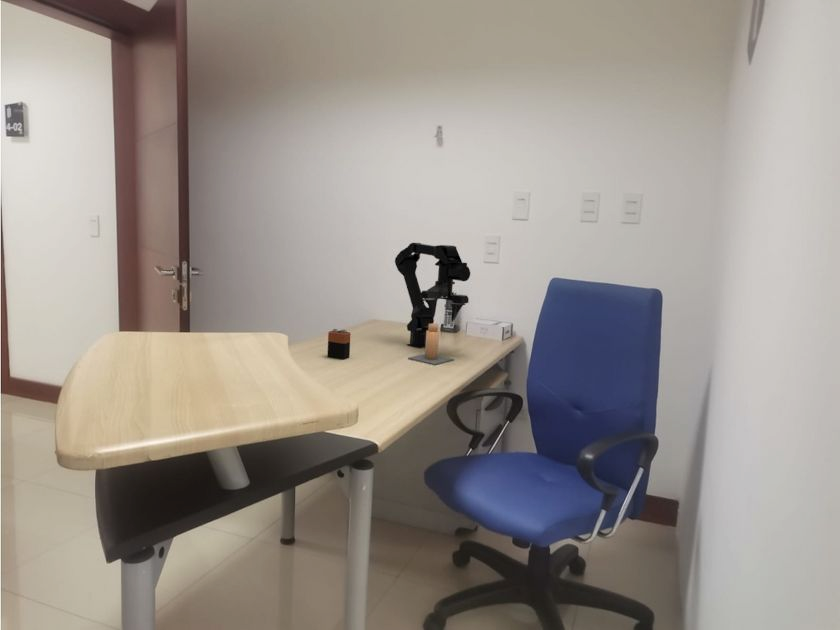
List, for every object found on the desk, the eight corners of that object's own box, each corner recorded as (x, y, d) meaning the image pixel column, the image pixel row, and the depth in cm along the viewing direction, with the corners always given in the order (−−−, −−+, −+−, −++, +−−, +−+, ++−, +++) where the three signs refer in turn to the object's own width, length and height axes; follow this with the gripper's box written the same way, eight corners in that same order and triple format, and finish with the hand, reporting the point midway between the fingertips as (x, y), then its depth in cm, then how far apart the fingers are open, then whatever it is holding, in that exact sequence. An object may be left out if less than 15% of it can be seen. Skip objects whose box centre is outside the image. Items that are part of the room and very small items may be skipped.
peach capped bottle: (422, 357, 208) (424, 323, 206) (433, 356, 210) (436, 323, 208) (428, 360, 204) (430, 325, 202) (439, 359, 206) (442, 325, 204)
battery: (343, 359, 198) (345, 331, 197) (326, 357, 201) (327, 329, 199) (349, 357, 202) (351, 329, 201) (333, 354, 205) (334, 327, 203)
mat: (407, 358, 206) (407, 357, 206) (427, 354, 215) (427, 353, 215) (434, 365, 199) (435, 363, 199) (453, 360, 208) (454, 359, 208)
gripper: (412, 276, 215) (410, 317, 218) (454, 281, 204) (451, 324, 207) (430, 276, 224) (427, 315, 227) (470, 280, 213) (467, 322, 216)
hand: (442, 319), depth 219 cm, fingers open, 9 cm apart
